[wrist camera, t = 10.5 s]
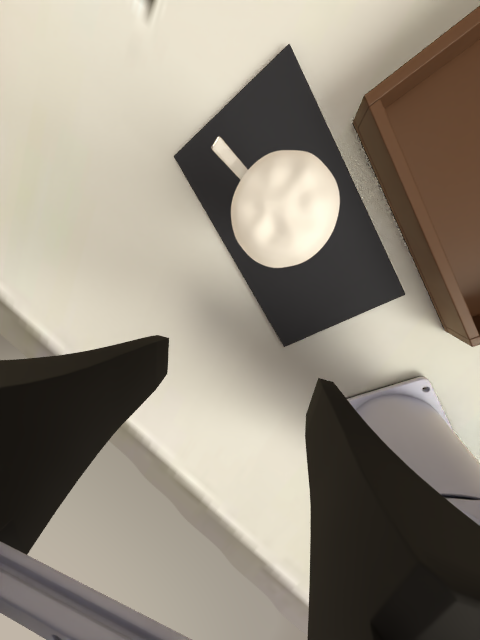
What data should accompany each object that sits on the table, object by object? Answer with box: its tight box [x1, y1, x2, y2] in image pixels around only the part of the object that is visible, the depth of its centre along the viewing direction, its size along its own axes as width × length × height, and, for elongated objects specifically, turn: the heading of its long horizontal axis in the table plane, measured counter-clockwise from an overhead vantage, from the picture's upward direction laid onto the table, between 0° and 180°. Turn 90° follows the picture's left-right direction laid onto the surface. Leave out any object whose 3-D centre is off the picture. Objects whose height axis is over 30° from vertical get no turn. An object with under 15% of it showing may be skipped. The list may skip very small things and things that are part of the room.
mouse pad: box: [174, 44, 405, 347], centre depth 17 cm, size 18×10×1 cm, turn 32°
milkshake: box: [211, 136, 340, 268], centre depth 12 cm, size 4×5×10 cm
